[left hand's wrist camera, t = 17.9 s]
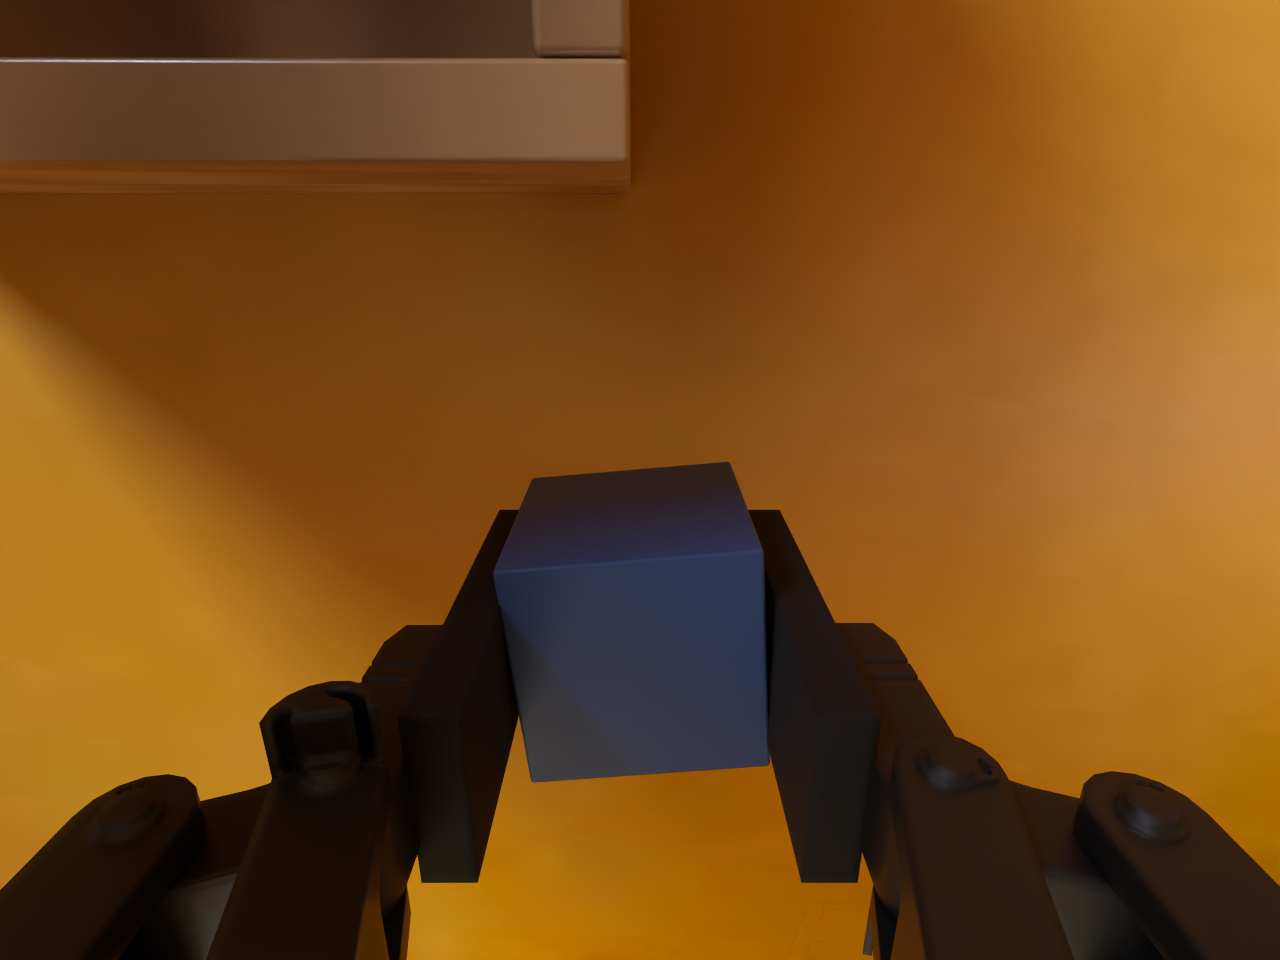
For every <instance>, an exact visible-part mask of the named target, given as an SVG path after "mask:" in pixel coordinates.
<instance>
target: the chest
mask: <svg viewBox="0 0 1280 960" xmlns="http://www.w3.org/2000/svg"><path fill="white" fill-rule="evenodd" d="M630 190H631V85H630V0H0V193H628V192H630Z"/></svg>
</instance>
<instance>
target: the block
mask: <svg viewBox="0 0 1280 960" xmlns="http://www.w3.org/2000/svg"><path fill="white" fill-rule="evenodd" d="M493 577H494V582H495V588H496V593H497V598H498V604H499V605H500V606H501V617H502V625H503V631H504V636H505V642H506V647H507V653H508V658H509V664H510V669H511V674H512V680H513V685H514V691H515V696H516V701H517V707H518V712H519V718H520V723H521V729H522V734H523V739H524V745H525V750H526V756H527V761H528V767H529V772H530V777H531V781H532V782H547V781H561V780H575V779H589V778H603V777H617V776H631V775H645V774H659V773H673V772H688V771H702V770H716V769H730V768H744V767H758V766H768V765H769V763H770V752H769V748H768V744H767V743H768V727H769V711H768V676H767V642H766V607H765V572H764V551H763V548H762V546H761V543H760V540H759V538H758V535H757V532H756V530H755V527H754V525H753V522H752V519H751V517H750V514H749V511H748V509H747V506H746V503H745V501H744V498H743V496H742V493H741V490H740V488H739V485H738V482H737V480H736V477H735V474H734V472H733V469H732V467H731V464H730V463H729V462H721V463H709V464H697V465H685V466H673V467H662V468H650V469H638V470H626V471H614V472H602V473H590V474H579V475H567V476H555V477H543V478H534V479H532V480H531V483H530V485H529V488H528V490H527V492H526V495H525V497H524V500H523V502H522V504H521V507H520V509H519V512H518V514H517V516H516V519H515V521H514V524H513V526H512V528H511V531H510V533H509V535H508V538H507V540H506V543H505V545H504V547H503V550H502V552H501V555H500V557H499V559H498V562H497V564H496V567H495V569H494V572H493Z"/></svg>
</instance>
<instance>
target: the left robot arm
mask: <svg viewBox="0 0 1280 960" xmlns="http://www.w3.org/2000/svg"><path fill="white" fill-rule="evenodd" d="M748 511H749V514H750V517H751V519H752V522H753V525H754V527H755V530H756V532H757V535H758V538H759V540H760V543H761V546H762V548H763V551H764V572H765V607H766V642H767V676H768V711H769V727H768V743H767V744H768V748H769V752H770V756H771V760H772V764H773V768H774V773H775V777H776V781H777V785H778V789H779V793H780V797H781V801H782V805H783V809H784V813H785V817H786V821H787V825H788V830H789V834H790V838H791V842H792V846H793V850H794V854H795V858H796V862H797V866H798V870H799V874H800V878H801V882H802V883H857V882H858V876H859V869H860V862H861V855H862V853H863V856H864V858H865V861H866V864H867V867H868V870H869V872H870V875H871V878H872V881H873V890H872V896H871V903H870V909H869V915H868V922H867V928H866V934H865V941H864V948H863V954H866V955H870V956H872V950H873V958H874V960H1280V886H1279V885H1278V884H1277V883H1276V882H1275V881H1274V880H1273V879H1272V878H1271V877H1270V876H1269V875H1268V874H1267V873H1266V872H1265V871H1264V870H1263V869H1262V868H1261V867H1260V866H1259V865H1258V864H1257V863H1256V862H1255V861H1254V860H1253V859H1252V858H1251V857H1250V856H1249V855H1248V854H1247V853H1246V852H1245V851H1244V850H1243V849H1242V848H1241V847H1240V846H1239V845H1238V844H1237V843H1236V842H1235V841H1234V840H1233V839H1232V838H1231V837H1230V836H1229V835H1228V834H1227V833H1226V832H1225V831H1224V830H1223V829H1222V828H1221V827H1220V826H1219V825H1218V824H1217V823H1216V822H1215V821H1214V820H1213V819H1212V818H1211V817H1210V816H1209V815H1208V814H1207V813H1206V812H1205V811H1204V810H1202V809H1201V808H1200V807H1199V806H1197V805H1196V804H1195V803H1194V802H1192V801H1191V800H1190V799H1189V798H1187V797H1186V796H1184V795H1183V794H1181V793H1179V792H1177V791H1175V790H1173V789H1171V788H1170V787H1168V786H1166V785H1164V784H1162V783H1160V782H1157V781H1154V780H1151V779H1148V778H1145V777H1142V776H1139V775H1136V774H1130V773H1122V772H1113V771H1111V772H1105V773H1100V774H1095V775H1093V776H1092V777H1091V778H1090V779H1089V780H1088V781H1086V782H1085V783H1084V785H1083V789H1082V792H1081V796H1080V799H1079V798H1075V797H1071V796H1066V795H1062V794H1058V793H1053V792H1049V791H1045V790H1041V789H1036V788H1032V787H1029V786H1025V785H1022V784H1019V783H1015V782H1012V781H1010V780H1009V779H1008V777H1007V776H1006V774H1005V772H1004V771H1003V769H1002V768H1001V766H1000V765H999V763H998V762H997V761H996V760H995V759H994V758H992V757H991V756H990V755H989V754H988V753H986V752H985V751H984V750H983V749H982V748H980V747H978V746H976V745H974V744H972V743H970V742H968V741H966V740H964V739H962V738H958V737H955V736H954V734H953V733H952V731H951V729H950V728H949V726H948V725H947V723H946V721H945V720H944V718H943V716H942V715H941V713H940V712H939V710H938V708H937V707H936V705H935V704H934V702H933V700H932V699H931V697H930V695H929V694H928V692H927V691H926V689H925V687H924V686H923V684H922V682H921V681H920V680H918V676H917V674H916V673H915V671H914V669H913V668H912V666H911V665H910V664H908V662H907V658H906V657H905V655H904V653H903V652H902V650H901V648H900V647H899V645H898V644H897V642H896V640H895V639H893V638H892V637H891V636H889V635H888V634H887V633H885V632H884V631H883V630H881V629H880V628H879V627H877V626H876V625H875V624H873V623H835V622H834V620H833V618H832V616H831V613H830V611H829V609H828V607H827V605H826V603H825V601H824V599H823V597H822V595H821V593H820V591H819V589H818V587H817V585H816V583H815V581H814V579H813V577H812V575H811V573H810V571H809V569H808V567H807V565H806V563H805V561H804V559H803V557H802V555H801V552H800V550H799V548H798V546H797V544H796V542H795V540H794V538H793V536H792V534H791V532H790V530H789V528H788V526H787V524H786V522H785V520H784V518H783V516H782V514H781V512H780V510H748ZM518 512H519V510H499V512H498V514H497V516H496V518H495V520H494V522H493V524H492V526H491V528H490V530H489V533H488V535H487V537H486V539H485V541H484V543H483V545H482V547H481V549H480V551H479V553H478V555H477V557H476V559H475V561H474V563H473V565H472V567H471V569H470V571H469V573H468V575H467V577H466V579H465V581H464V583H463V585H462V587H461V589H460V591H459V593H458V596H457V598H456V600H455V602H454V604H453V606H452V608H451V610H450V612H449V614H448V616H447V618H446V620H445V622H444V624H443V625H406V626H405V627H404V628H402V629H401V630H400V631H398V632H397V633H396V634H394V635H393V636H392V637H390V638H389V639H388V640H386V641H385V642H384V643H383V645H382V647H381V648H380V650H379V651H378V653H377V655H376V656H375V658H374V660H373V661H372V666H369V668H368V669H367V671H366V673H365V674H364V676H363V678H362V682H361V683H356V682H352V681H329V682H325V683H321V684H317V685H312V686H308V687H306V688H304V689H301V690H299V691H297V692H295V693H292V694H290V695H288V696H286V697H285V698H284V699H282V700H281V701H279V702H278V703H277V704H275V705H274V706H273V707H271V708H270V709H269V710H268V712H267V713H266V715H265V716H264V717H263V719H262V720H261V721H260V723H259V724H260V728H261V733H262V737H263V741H264V745H265V750H266V754H267V758H268V762H269V767H270V771H271V775H272V781H271V783H269V784H267V785H263V786H260V787H257V788H254V789H250V790H247V791H242V792H238V793H234V794H230V795H225V796H221V797H217V798H213V799H208V800H204V801H200V799H199V796H198V792H197V789H196V786H195V785H193V784H192V783H191V782H190V781H189V780H188V779H187V778H185V777H180V776H175V775H169V774H166V775H158V776H150V777H144V778H141V779H138V780H135V781H132V782H129V783H126V784H123V785H120V786H118V787H116V788H114V789H112V790H110V791H109V792H107V793H105V794H103V795H101V796H99V797H98V798H96V799H94V800H93V801H91V802H90V803H89V804H88V805H86V806H85V807H84V808H83V809H82V810H80V811H79V812H78V813H77V814H75V815H74V816H73V817H72V818H71V819H70V820H69V821H68V822H67V823H66V824H65V825H64V826H63V827H62V828H61V829H60V830H59V831H58V832H57V833H56V834H55V835H54V836H53V837H52V838H51V839H50V840H49V841H48V842H47V843H46V844H45V845H44V846H43V847H42V848H41V849H40V850H39V851H38V852H37V853H36V854H35V855H34V857H33V858H32V859H31V860H30V861H29V862H28V863H27V864H26V865H25V866H24V867H23V868H22V869H21V870H20V871H19V872H18V873H17V874H16V875H15V876H14V877H13V878H12V879H11V880H10V881H9V882H8V883H7V884H6V885H5V886H4V887H3V888H2V889H1V890H0V960H406V959H407V949H408V938H409V927H410V916H411V911H410V903H409V896H408V890H407V882H408V879H409V876H410V874H411V871H412V868H413V865H414V862H415V859H416V857H417V854H418V861H419V867H420V874H421V881H422V883H478V879H479V875H480V871H481V867H482V863H483V859H484V855H485V851H486V847H487V843H488V839H489V834H490V830H491V826H492V822H493V818H494V814H495V810H496V806H497V802H498V798H499V794H500V790H501V786H502V782H503V778H504V773H505V769H506V765H507V761H508V757H509V753H510V749H511V745H512V741H513V737H514V733H515V729H516V725H517V721H518V717H519V712H518V707H517V701H516V696H515V691H514V685H513V680H512V674H511V669H510V664H509V658H508V653H507V647H506V642H505V636H504V631H503V625H502V617H501V606H500V605H499V604H498V598H497V593H496V588H495V582H494V577H493V572H494V569H495V567H496V564H497V562H498V559H499V557H500V555H501V552H502V550H503V547H504V545H505V543H506V540H507V538H508V535H509V533H510V531H511V528H512V526H513V524H514V521H515V519H516V516H517V514H518Z"/></svg>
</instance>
